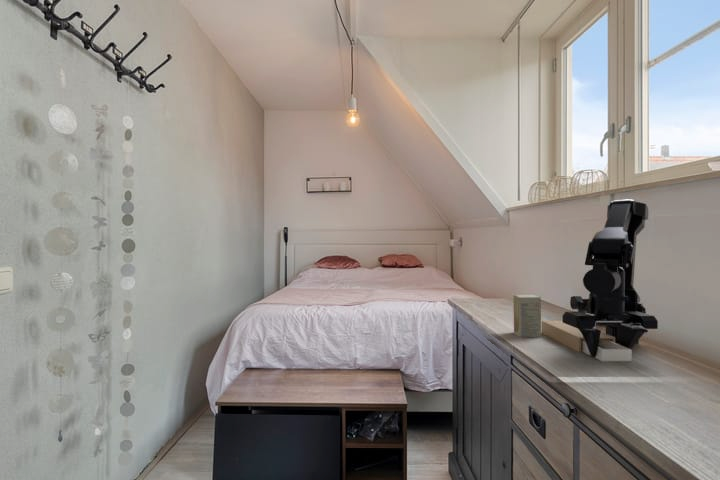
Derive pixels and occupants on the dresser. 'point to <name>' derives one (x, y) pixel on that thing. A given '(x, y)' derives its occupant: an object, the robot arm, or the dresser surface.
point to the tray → (609, 351)
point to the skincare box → (527, 315)
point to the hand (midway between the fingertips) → (608, 356)
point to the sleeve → (567, 334)
